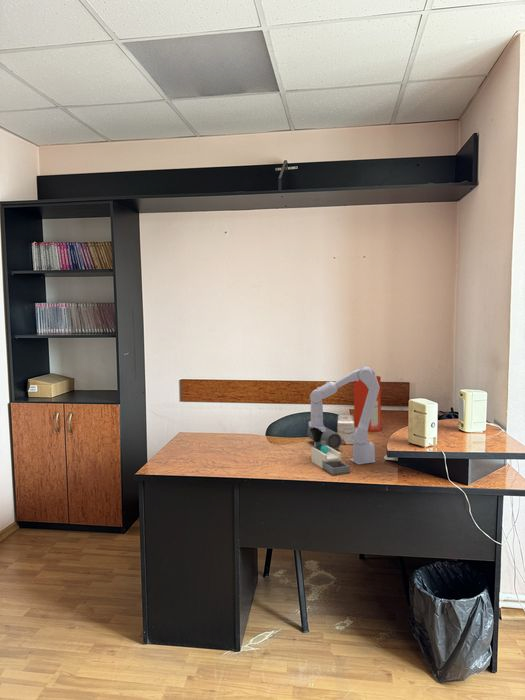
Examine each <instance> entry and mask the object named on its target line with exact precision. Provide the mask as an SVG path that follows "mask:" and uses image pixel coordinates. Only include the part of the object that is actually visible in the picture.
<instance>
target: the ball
mask: <svg viewBox="0 0 525 700" xmlns="http://www.w3.org/2000/svg"><path fill="white" fill-rule="evenodd" d="M321 452H323V453H327V452H328V447H327V446H325V445H323V446H322V447H321Z"/></svg>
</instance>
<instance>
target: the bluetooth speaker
mask: <svg viewBox="0 0 525 700" xmlns="http://www.w3.org/2000/svg"><path fill="white" fill-rule="evenodd" d="M311 428H313V427H309V426H308V428H307V432H306V435H307V436H308V438H309V439H311V440H312V441H313V442H314V439H313V435H312V433H311V431H310V429H311ZM320 441H326V445H327V446H329V447H331V448H333V449H334V450H337V449H339V448H340V447H341V446H342V444H341V443H342V440H341V437H340V435H339V434H337V431H334V430H332V429H331V428H328V427H326V432H323V434H322V436H321V440H320Z"/></svg>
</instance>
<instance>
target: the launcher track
mask: <svg viewBox="0 0 525 700" xmlns="http://www.w3.org/2000/svg"><path fill="white" fill-rule="evenodd" d="M326 446H327V445H326ZM327 447H328V452H327V453H323V452H321V451H319V450H318V449H316V448H314V446H311V448H310V449H311V451H310V452H311V462H312V463H313V464H314V465H316V466H318V468H319V467H320V468H321V469H324V463H329V462H336V461H341V460H342V453H341V452H340V451H338V450H337V449H333V448H331V447H329V446H327Z"/></svg>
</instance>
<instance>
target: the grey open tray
mask: <svg viewBox="0 0 525 700" xmlns="http://www.w3.org/2000/svg"><path fill="white" fill-rule="evenodd" d="M350 467H351V465H349V464H346V462H343V461H341V460H338V461H336V462H329V463H324V468H323V471H326V472H327V473H328V474H330V475H331V476H338V475H346V474H350V472H351V471H350Z"/></svg>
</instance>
